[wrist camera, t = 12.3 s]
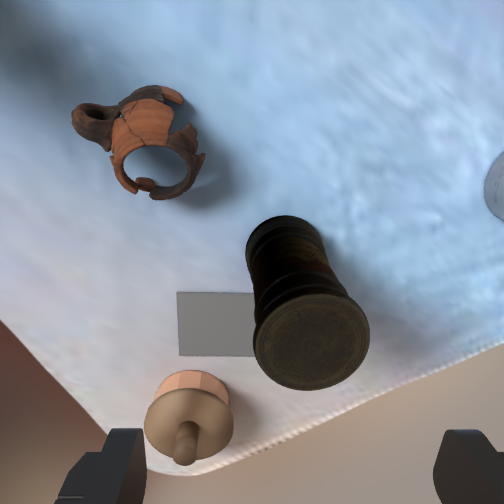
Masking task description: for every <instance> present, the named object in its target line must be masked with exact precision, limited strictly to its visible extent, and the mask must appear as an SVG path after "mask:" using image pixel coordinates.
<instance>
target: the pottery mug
mask: <svg viewBox="0 0 504 504" xmlns="http://www.w3.org/2000/svg"><path fill="white" fill-rule="evenodd" d="M164 98H166V99H168V100H171V101H173V102H175V103H177V104H179V105H182V104H183V99H182V97H181V94H180V93H178V92H177V91H175V90H173V89H170V88H168V87H163V86H158V85H152V86H145V87H142V88H139V89H137V90H135V91H134V92H133V93H132V94H131V95H130V96H129V97H127V98H125V99H124V100H122V101H121V102H119V104H118V106H101V105H98V104H92V103H83V104H80V105H78V106H77V107H76V108H75V109H74V110H72V125H73V127H74V129H75V130H76V132H77V133H78V134H79V135H80V136H82V137H84V138H85V139H87V140H90V141H93V142H96V143H98V144H99V145H101V146H102V147H103V149H104V150H105V151H106V152H109V151H110V150H112V153H113V156H110V160H111V162H112V165H113V166H114V172H115V175H116V178H117V180H118V181H119V182H120V184H121V185H122V186H123V187H124V188H125V189H126V190H128V191H129V192H131V193H133V194H137V192H138V189H139V190H142V191H146V192H150V194H149V196H150V198H152V199H153V200H166V199H172V198H175V197H177V196H179V195H181V194H183V192H186V191H187V190H188V189H190V187H191V186H192V184H193V183H194V181H195V179H196V176H197V174H198V173H199V170H200V168H201V166H202V164H203V161H204V158H205V153H202V154H200V155H195V153H196V151H197V146H198V142H197V131H196V129H195V128H194V127H193V125H192V124H190V123H188V124H187V125H186V127H185V129H182V130H180V131H177V132H173V133H169V130H170V128H171V124H172V121H173V118H174V116H175V114H174V112H173V110H172V108H171V107H169V106H167V105H165V101H164ZM120 115H122V117H120ZM150 145H155V146H163V147H168V148H170V149H172V150H174V151H176V152H177V153H178V154H180V155H181V156H182V158H183V159H184V160H185V161H186V163H187V166H188V173H187V175H186V177H185V179H184V180H182V181H181V182H180V183H178V184H176V185H174V186H170V187H160V186H155V184H154V183H153V181H152V180H151V179H150V178H144V177H138V178H136V180H135V182H134V181H133V180H131V179H130V178H129V177H128V176H127V174H126V173H125V171H124V168H123V162H124V159H125V158H126V156H127V155H128V154H129V153H130V152H132V151H133V150H135V149H137V148H140V147H143V146H150Z"/></svg>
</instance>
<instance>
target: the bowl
mask: <svg viewBox="0 0 504 504" xmlns="http://www.w3.org/2000/svg"><path fill="white" fill-rule="evenodd" d="M181 388H196V389H201V390H205V391H208V392H211V393H213V394H215V395H217V396H218V397H219V398H221V399H222V400H223V401H224V402H225V403H226V404H227V405H228V403H229V395H228V392H227V389H226V387H225V386H224V384H223V383H222V382H221V381H220V380H219V379H218V378H216V377H215V376H213V375H211V374H209V373H206V372H203V371H198V370H186V371H180V372H177V373H175V374H172V375H171V376H169V377H167V378H166V379H165V380H164V381H163V382H162V383H161V385H160V386H159V388H158V391H157V392H156V394H155V396H154V400H153V402H154V401H155V400H156V399H157V398H158V397H160V396H161V395H163V394H165V393H167V392H169V391H172V390H176V389H181Z"/></svg>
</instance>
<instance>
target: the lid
mask: <svg viewBox="0 0 504 504" xmlns="http://www.w3.org/2000/svg"><path fill="white" fill-rule="evenodd" d="M144 431H145V435H146V438H147V439H148V441H149V443H150V444H151V445H152V446H153V447H154V448H155V449H156V450H158V451H159V452H160V453H162V454H164V455H166V456H168V457H171V458H173V460H174V461H175V463H177V464H179V465H182V466H188V465H191V464H193V463H194V462H195V460H201V459H205V458H208V457H211V456H213V455H215V454H217V453H218V452H220V451H221V450H223V449H224V448H225V447H226V446H227V444H228V443H229V441H230V439H231V437H232V434H233V415H232V412H231V410H230V408H229V407H228V405H227V404H226V403H225V402H224V401H223V400H222V399H221V398H219V397H218V396H217V395H215V394H213V393H211V392H208V391H205V390H201V389H196V388H181V389H176V390H172V391H169V392H167V393H165V394H163V395H161V396H160V397H158V398H157V399H156V400H155V401H154V402H153V403H152V404H151V405H150V407H149V409H148V411H147V414H146V418H145V421H144Z"/></svg>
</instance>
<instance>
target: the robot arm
mask: <svg viewBox="0 0 504 504" xmlns="http://www.w3.org/2000/svg"><path fill="white" fill-rule="evenodd" d="M484 198H485V201H486V204H487V206H488V208H489V209H490V211H491V212H492V213H493V214H494V215H495V216H497V217H499V218H501V219H503V220H504V152H503V153H502V154H501V155H500V156H499V157H498V158H497V159H496V161H495V162H494V163H493V165H492V167H491V168H490V170H489V172H488V175H487V177H486V180H485V186H484ZM146 479H147V466H146V456H145V445H144V435H143V430H142V429H141V428H113V429H111V430H110V432H109V434H108V436H107V439H106V441H105V444H104V446H103V449H102V451H101V452H86V453H85V454H84V456H83V457H82V458H81V459H80V460H79V461H78V462H77V463H76V464H75V466H74V467H73V468H72V469H71V470H70V471H69V473H68V475H67V477H66V479H65V481H64V483H63V486H62V488H61V490H60V492H59V494H58V499H57V500H56V501H55V503H54V504H142V503H143V499H144V494H145V488H146ZM433 480H434V485H435V489H436V492H437V494H438V496H439V499H440V500H441V503H442V504H504V452H497V451H496V450H495V448H494V447H493V446H492V444H491V443H490V442H489V440H488V439H487V437H486V436H485V435H484V434H483V433H482V432H481V431H479V430H447V431H446V432H445V434H444V437H443V440H442V443H441V446H440V449H439V452H438V455H437V459H436V462H435V465H434V469H433Z"/></svg>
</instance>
